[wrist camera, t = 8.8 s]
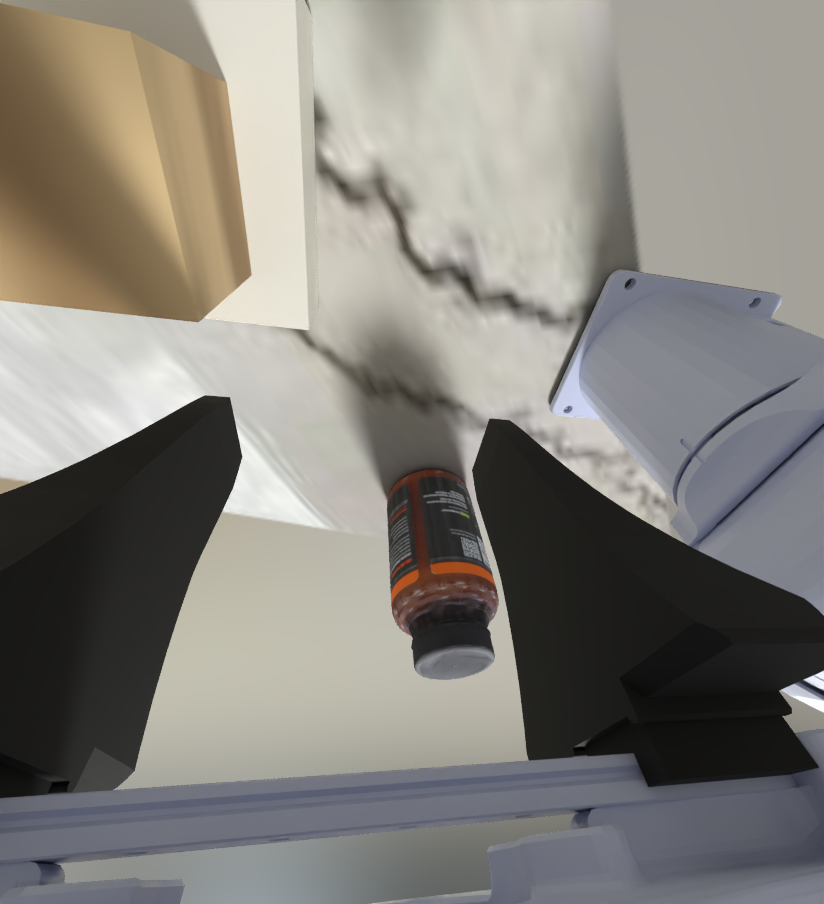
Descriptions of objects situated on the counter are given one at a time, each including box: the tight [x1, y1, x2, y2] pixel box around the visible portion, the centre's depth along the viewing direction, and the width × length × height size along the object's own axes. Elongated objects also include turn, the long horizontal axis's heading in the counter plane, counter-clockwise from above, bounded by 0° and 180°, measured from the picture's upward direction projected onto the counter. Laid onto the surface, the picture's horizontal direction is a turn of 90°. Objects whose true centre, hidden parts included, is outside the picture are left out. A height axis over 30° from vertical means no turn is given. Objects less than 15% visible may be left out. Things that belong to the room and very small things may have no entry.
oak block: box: [0, 3, 252, 322], centre depth 9 cm, size 5×5×5 cm
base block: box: [0, 0, 318, 330], centre depth 12 cm, size 9×9×3 cm
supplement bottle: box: [387, 469, 499, 680], centre depth 21 cm, size 6×6×11 cm
